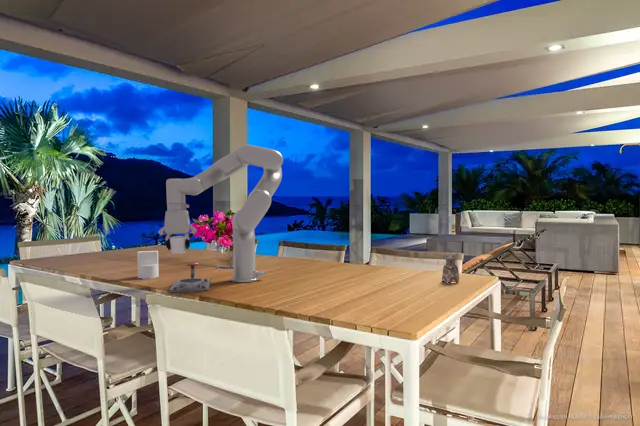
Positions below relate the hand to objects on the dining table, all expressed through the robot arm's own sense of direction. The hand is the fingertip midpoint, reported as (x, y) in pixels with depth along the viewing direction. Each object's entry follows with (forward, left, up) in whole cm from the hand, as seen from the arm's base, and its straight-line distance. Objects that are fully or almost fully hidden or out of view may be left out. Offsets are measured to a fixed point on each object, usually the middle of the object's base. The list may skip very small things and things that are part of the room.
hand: (178, 248), depth 191 cm
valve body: (-6, +7, -15) cm, 18 cm away
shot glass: (0, 0, -2) cm, 2 cm away
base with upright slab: (+16, -20, -15) cm, 30 cm away
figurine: (-116, +19, -15) cm, 118 cm away
